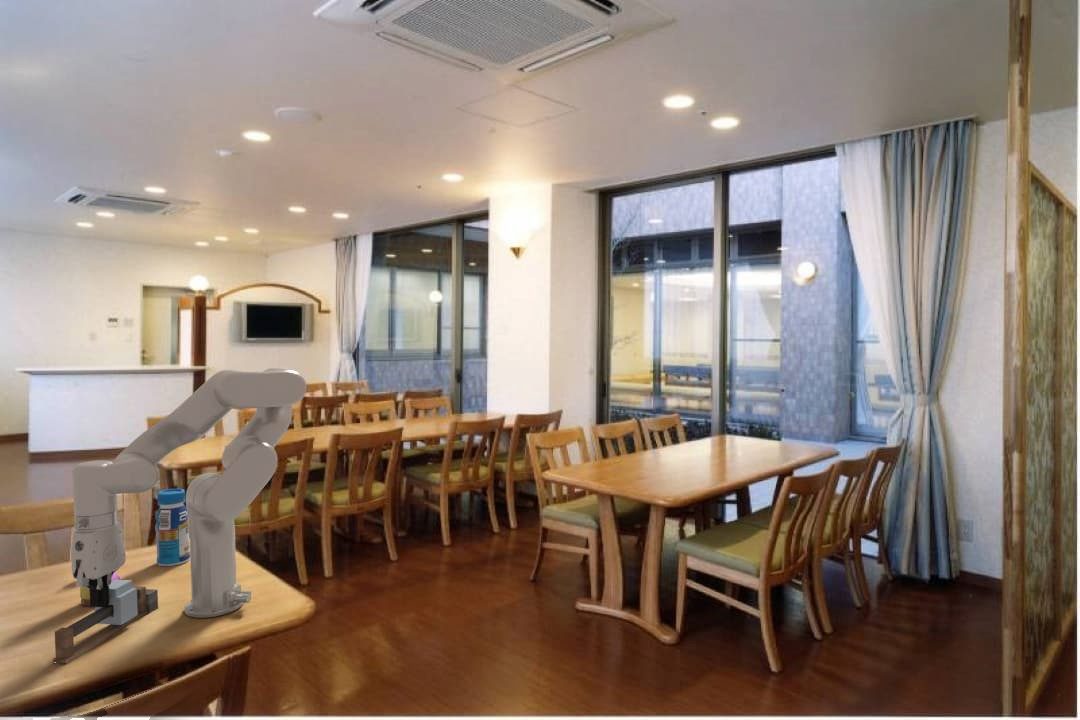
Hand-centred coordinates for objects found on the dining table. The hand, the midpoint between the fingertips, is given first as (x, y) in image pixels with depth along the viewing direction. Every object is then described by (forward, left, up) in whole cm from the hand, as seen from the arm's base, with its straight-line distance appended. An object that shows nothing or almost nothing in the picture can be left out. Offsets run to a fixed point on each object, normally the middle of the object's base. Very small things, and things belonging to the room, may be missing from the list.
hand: (99, 605), depth 142 cm
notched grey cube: (0, -5, -5) cm, 7 cm away
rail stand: (0, -2, -7) cm, 7 cm away
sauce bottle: (+15, -17, -7) cm, 24 cm away
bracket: (+23, -29, -8) cm, 38 cm away
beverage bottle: (+14, -44, -7) cm, 47 cm away
